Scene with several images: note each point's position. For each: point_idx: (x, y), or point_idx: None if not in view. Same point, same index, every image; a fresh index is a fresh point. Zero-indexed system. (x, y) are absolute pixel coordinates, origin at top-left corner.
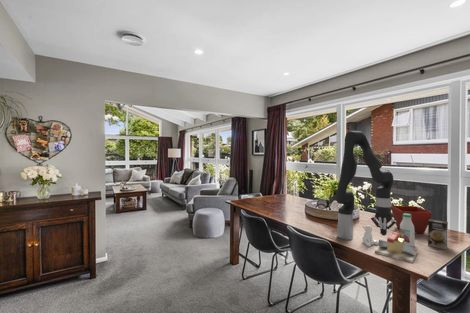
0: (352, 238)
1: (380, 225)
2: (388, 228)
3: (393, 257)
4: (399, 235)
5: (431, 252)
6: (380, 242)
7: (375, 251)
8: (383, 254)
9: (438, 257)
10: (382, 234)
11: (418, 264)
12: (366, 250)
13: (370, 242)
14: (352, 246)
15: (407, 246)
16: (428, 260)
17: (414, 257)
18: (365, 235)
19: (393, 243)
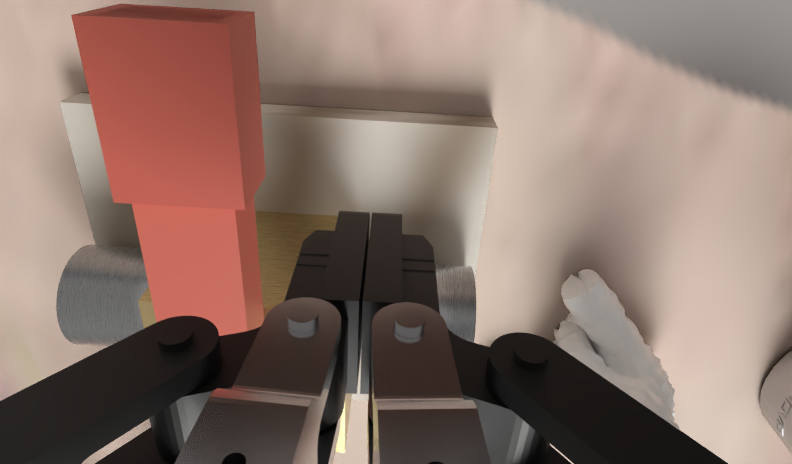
0: (766, 385)
1: (438, 384)
2: (169, 321)
3: (276, 107)
4: None
5: (84, 460)
6: (452, 297)
7: (486, 124)
8: (389, 114)
9: (2, 393)
10: (383, 218)
11: (23, 97)
12: (593, 133)
13: (571, 345)
14: (774, 153)
15: (128, 320)
16: (17, 277)
17: (97, 228)
18: (658, 411)
19: (269, 278)
